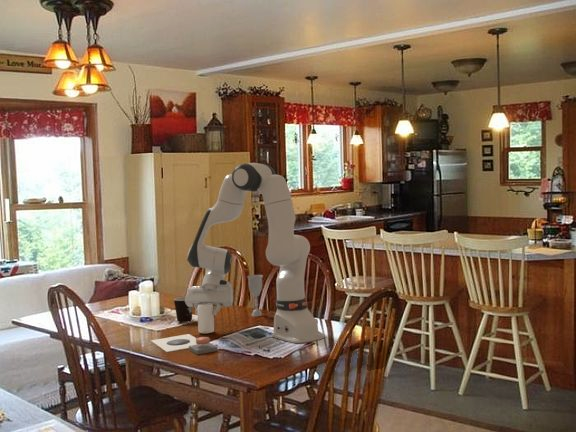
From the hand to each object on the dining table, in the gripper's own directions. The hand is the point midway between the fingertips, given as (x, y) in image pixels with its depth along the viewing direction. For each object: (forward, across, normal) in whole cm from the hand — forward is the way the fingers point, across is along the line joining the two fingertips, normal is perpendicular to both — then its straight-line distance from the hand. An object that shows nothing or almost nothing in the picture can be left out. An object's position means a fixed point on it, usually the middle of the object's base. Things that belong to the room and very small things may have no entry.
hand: (205, 314), depth 259 cm
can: (+5, 0, +6) cm, 8 cm away
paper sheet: (+16, -6, -5) cm, 18 cm away
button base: (+23, +8, -12) cm, 27 cm away
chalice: (-18, +12, +29) cm, 36 cm away
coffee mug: (-10, -18, +22) cm, 30 cm away
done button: (+21, +8, -14) cm, 26 cm away
